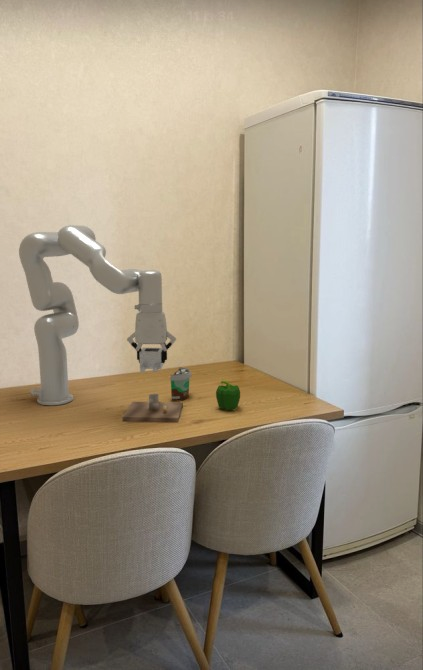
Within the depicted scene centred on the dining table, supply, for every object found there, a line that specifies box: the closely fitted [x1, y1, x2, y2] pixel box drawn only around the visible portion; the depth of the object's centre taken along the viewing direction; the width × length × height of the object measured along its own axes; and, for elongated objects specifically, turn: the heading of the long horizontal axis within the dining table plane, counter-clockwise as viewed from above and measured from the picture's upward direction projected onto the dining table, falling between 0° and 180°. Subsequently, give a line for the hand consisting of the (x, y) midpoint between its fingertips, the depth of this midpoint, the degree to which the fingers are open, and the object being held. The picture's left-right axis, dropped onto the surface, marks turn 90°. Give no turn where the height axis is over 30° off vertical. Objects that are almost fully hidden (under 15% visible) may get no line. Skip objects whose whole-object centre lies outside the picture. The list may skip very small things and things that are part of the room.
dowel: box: [163, 405, 167, 414], centre depth 174 cm, size 1×1×2 cm
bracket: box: [139, 347, 165, 373], centre depth 172 cm, size 11×7×6 cm, turn 177°
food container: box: [169, 366, 192, 402], centre depth 195 cm, size 12×6×10 cm, turn 168°
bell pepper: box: [215, 379, 241, 411], centre depth 182 cm, size 8×8×10 cm
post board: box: [121, 393, 184, 423], centre depth 177 cm, size 18×16×6 cm
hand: (152, 361), depth 174 cm, fingers closed on bracket, 7 cm apart
